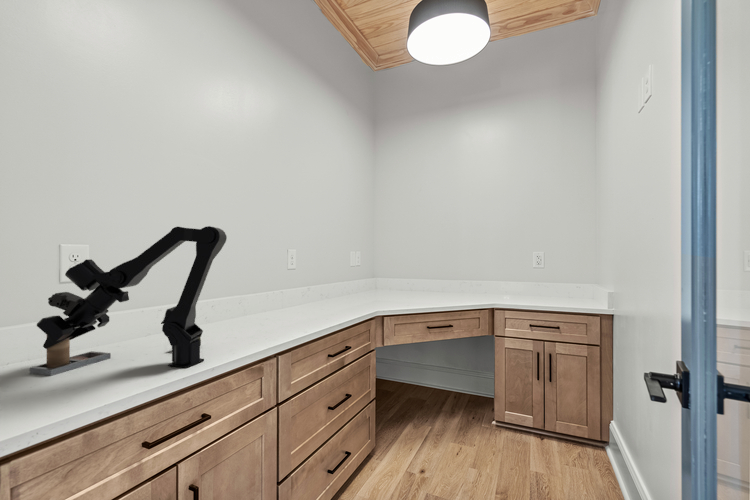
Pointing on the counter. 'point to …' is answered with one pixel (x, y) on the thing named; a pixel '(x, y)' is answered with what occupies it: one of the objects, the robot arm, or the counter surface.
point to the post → (58, 354)
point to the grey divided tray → (71, 363)
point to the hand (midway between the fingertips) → (52, 345)
